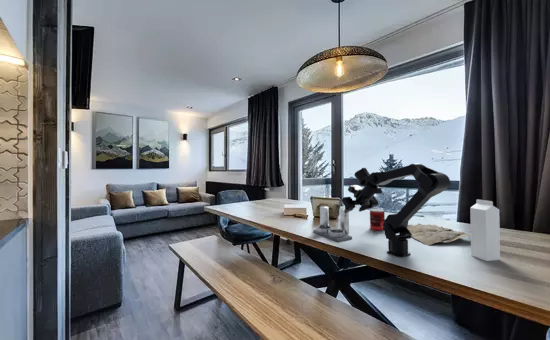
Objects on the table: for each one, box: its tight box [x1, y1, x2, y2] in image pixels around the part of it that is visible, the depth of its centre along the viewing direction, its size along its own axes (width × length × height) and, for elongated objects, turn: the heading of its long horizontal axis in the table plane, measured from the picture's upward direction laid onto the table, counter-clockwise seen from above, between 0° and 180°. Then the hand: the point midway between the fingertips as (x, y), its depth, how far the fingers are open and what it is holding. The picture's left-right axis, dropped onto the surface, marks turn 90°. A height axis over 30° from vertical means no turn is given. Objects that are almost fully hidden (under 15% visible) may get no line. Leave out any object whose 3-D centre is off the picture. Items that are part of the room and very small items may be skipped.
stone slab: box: [407, 223, 471, 246], centre depth 120 cm, size 33×27×5 cm
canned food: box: [369, 208, 386, 232], centre depth 134 cm, size 8×8×11 cm
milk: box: [469, 198, 501, 262], centre depth 90 cm, size 6×6×22 cm
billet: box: [338, 207, 350, 235], centre depth 128 cm, size 5×5×13 cm
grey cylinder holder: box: [312, 205, 353, 243], centre depth 124 cm, size 20×9×14 cm, turn 27°
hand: (352, 211), depth 121 cm, fingers open, 9 cm apart
